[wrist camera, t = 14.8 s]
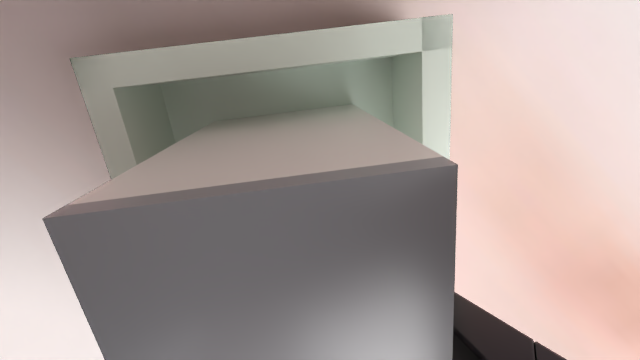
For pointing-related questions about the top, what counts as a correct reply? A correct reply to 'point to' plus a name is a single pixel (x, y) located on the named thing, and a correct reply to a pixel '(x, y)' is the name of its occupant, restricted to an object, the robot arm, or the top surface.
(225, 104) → the tray
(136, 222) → the grey rectangular block
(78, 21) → the top surface
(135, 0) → the top surface
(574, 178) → the top surface
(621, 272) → the top surface
